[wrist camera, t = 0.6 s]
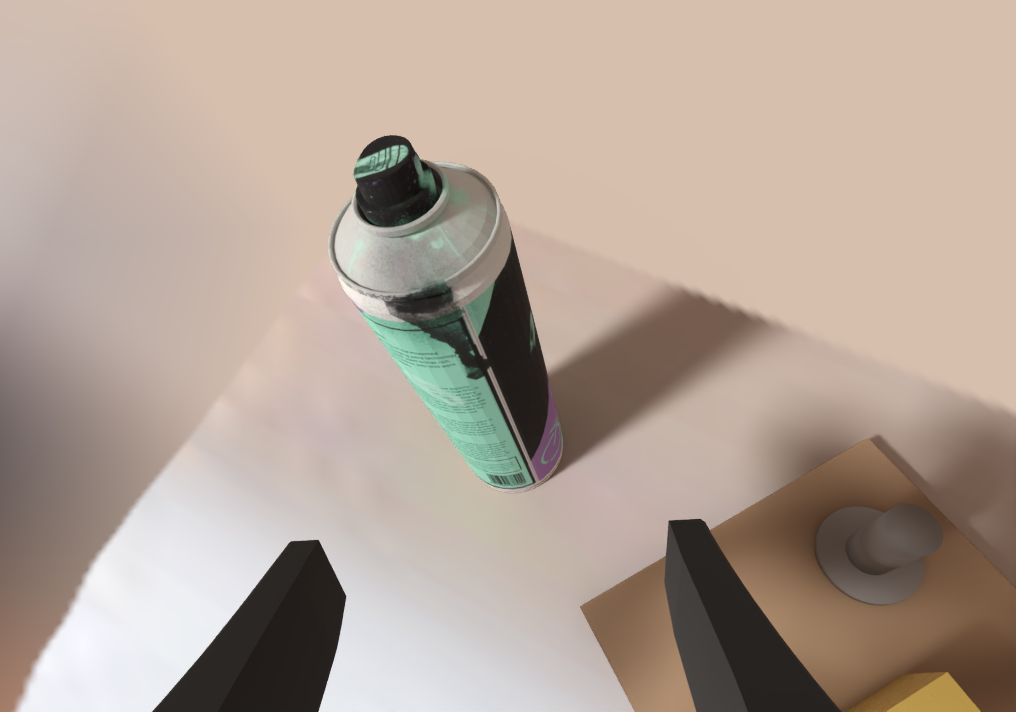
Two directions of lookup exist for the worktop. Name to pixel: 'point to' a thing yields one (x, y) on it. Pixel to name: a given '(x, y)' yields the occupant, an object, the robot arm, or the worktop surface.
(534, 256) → the worktop surface
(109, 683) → the worktop surface
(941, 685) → the golden square frame
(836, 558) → the board
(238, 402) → the worktop surface
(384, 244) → the spray can
